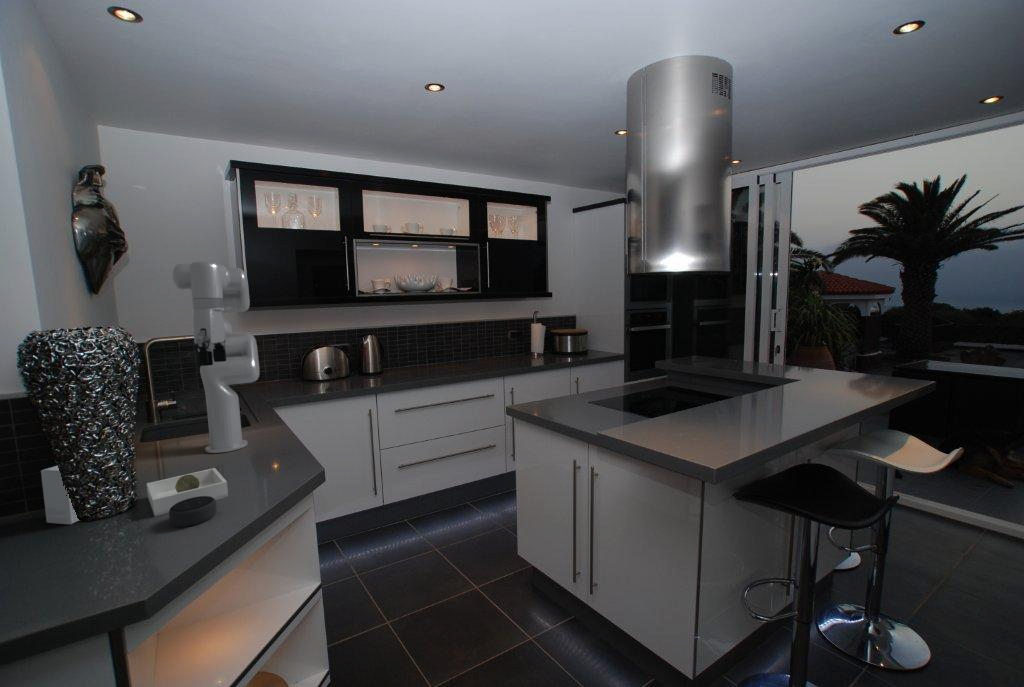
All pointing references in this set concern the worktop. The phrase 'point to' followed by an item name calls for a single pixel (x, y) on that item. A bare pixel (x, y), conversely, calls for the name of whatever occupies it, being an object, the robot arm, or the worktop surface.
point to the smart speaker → (192, 511)
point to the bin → (166, 495)
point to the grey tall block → (56, 498)
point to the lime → (187, 483)
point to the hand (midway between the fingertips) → (213, 363)
